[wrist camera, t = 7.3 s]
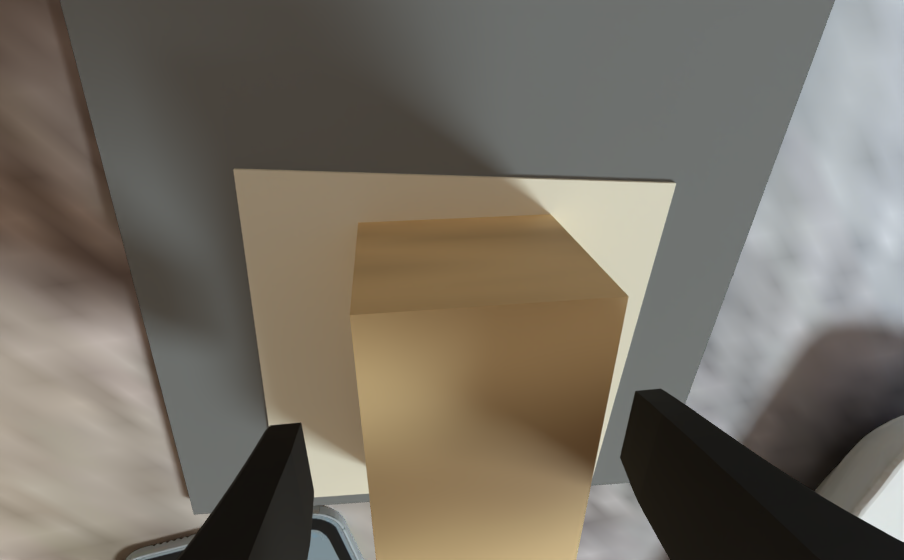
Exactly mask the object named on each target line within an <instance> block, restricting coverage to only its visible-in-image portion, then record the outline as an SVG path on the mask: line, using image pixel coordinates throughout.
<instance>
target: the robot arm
mask: <svg viewBox="0 0 904 560" xmlns="http://www.w3.org/2000/svg"><path fill="white" fill-rule="evenodd" d="M620 459H621V461H622V464H623V467H624V469H625V472H626V474H627V477H628V479H629V482H630V484H631V486H632V489H633V491H634V493H635V496H636V498H637V500H638V503H639V504H640V506H641V508H642V510H643V512H644V514H645V515H646V517H647V519H648V521H649V523H650V524H651V526H652V528H653V530H654V532H655V534H656V535H657V537H658V539H659V541H660V542H661V544H662V546H663V548H664V550H665V551H666V553H667V555H668V557H669V558H670V560H904V542H902V541H900V540H898V539H896V538H895V537H893V536H891V535H889V534H887V533H885V532H884V531H882V530H880V529H878V528H876V527H875V526H873V525H871V524H869V523H867V522H866V521H864V520H862V519H860V518H858V517H857V516H855V515H853V514H851V513H850V512H848V511H846V510H844V509H842V508H841V507H839V506H837V505H836V504H834V503H832V502H831V501H829V500H827V499H826V498H824V497H822V496H821V495H819V494H817V493H816V492H814V491H813V490H811V489H809V488H808V487H806V486H805V485H803V484H801V483H800V482H798V481H797V480H795V479H793V478H792V477H790V476H789V475H787V474H786V473H784V472H782V471H781V470H779V469H778V468H776V467H775V466H773V465H772V464H770V463H769V462H767V461H766V460H764V459H763V458H761V457H760V456H758V455H757V454H755V453H754V452H752V451H751V450H749V449H748V448H747V447H745V446H744V445H742V444H741V443H739V442H738V441H736V440H735V439H733V438H732V437H731V436H729V435H728V434H726V433H725V432H723V431H722V430H721V429H719V428H718V427H716V426H715V425H713V424H712V423H711V422H709V421H708V420H706V419H705V418H704V417H702V416H701V415H699V414H698V413H696V412H695V411H694V410H692V409H691V408H689V407H688V406H686V405H685V404H684V403H682V402H681V401H679V400H678V399H676V398H675V397H673V396H672V395H670V394H669V393H667V392H666V391H664V390H663V389H650V390H640V391H635V394H634V398H633V403H632V407H631V411H630V416H629V420H628V424H627V429H626V433H625V437H624V442H623V446H622V450H621V455H620ZM313 502H314V488H313V482H312V477H311V472H310V466H309V461H308V456H307V450H306V445H305V440H304V434H303V429H302V423H301V422H300V423H290V424H279V425H270V426H269V427H268V428H267V429H266V430H265V432H264V433H263V435H262V437H261V438H260V440H259V442H258V443H257V445H256V447H255V448H254V450H253V451H252V453H251V455H250V456H249V458H248V459H247V461H246V463H245V464H244V466H243V467H242V469H241V470H240V472H239V473H238V475H237V476H236V478H235V479H234V481H233V482H232V484H231V485H230V487H229V488H228V490H227V491H226V493H225V494H224V496H223V497H222V498H221V500H220V501H219V503H218V504H217V506H216V507H215V508H214V510H213V511H212V513H211V514H210V516H209V517H208V518H207V520H206V521H205V523H204V524H203V525H202V527H201V528H200V530H199V531H198V532H197V534H196V535H195V536H194V537H193V539H192V540H191V541H190V543H189V544H188V545H187V547H186V548H185V549H184V551H183V552H182V553H181V554H180V556H179V557H178V558H177V560H307V559H308V553H309V548H310V541H311V529H312V516H313Z"/></svg>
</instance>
